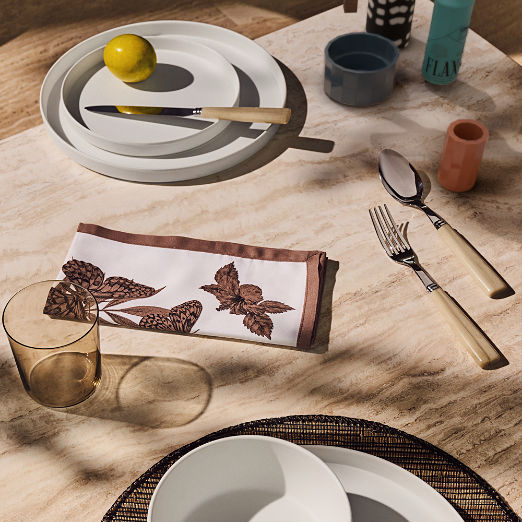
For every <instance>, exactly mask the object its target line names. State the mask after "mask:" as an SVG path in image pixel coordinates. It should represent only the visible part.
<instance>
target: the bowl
mask: <svg viewBox="0 0 522 522" xmlns="http://www.w3.org/2000/svg"><path fill="white" fill-rule="evenodd" d="M400 55H401V54H400V50H398V47H397V46H396V45H395V44H394V43H393V42H392V41H391V40H390V39H387V38H385V37H383V36H381V35H378V34H373V33H367V32H365V31H354V32H353V31H352V32H347V33H344V34H339V35H336V36H335V37H334V38H331V40H329V41H328V42H327V43H326V45H325V47H324V50H323V65H322V66H323V68H322V87H323V91H324V92H325V93H326V94H327V96H328V97H329V98H331V99H332V100H334V101H336V102H339V103H340V104H344V105H348V106H353V107H370V106H373V105H377V104H381V103H383V102H385V101H386V100H387V99H388V98H390V97H391V96H392V95H393V93H394V91H395V88H396V83H397V78H398V77H397V76H398V69H399V62H400Z"/></svg>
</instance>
